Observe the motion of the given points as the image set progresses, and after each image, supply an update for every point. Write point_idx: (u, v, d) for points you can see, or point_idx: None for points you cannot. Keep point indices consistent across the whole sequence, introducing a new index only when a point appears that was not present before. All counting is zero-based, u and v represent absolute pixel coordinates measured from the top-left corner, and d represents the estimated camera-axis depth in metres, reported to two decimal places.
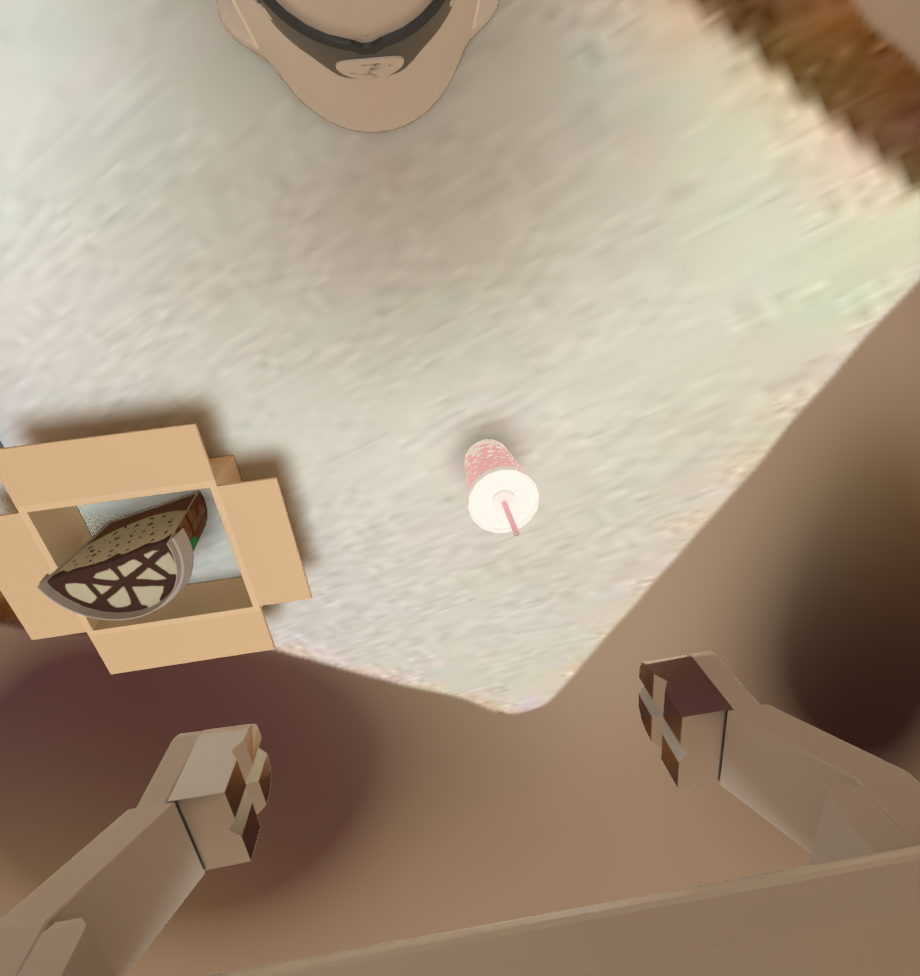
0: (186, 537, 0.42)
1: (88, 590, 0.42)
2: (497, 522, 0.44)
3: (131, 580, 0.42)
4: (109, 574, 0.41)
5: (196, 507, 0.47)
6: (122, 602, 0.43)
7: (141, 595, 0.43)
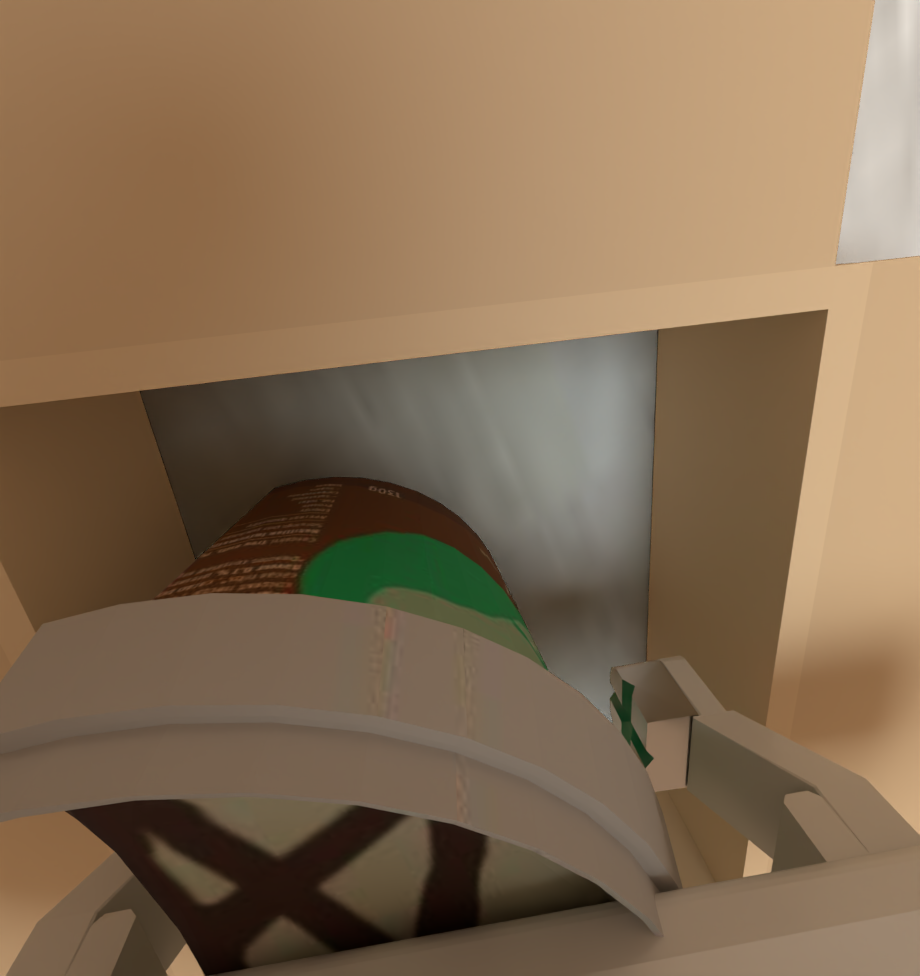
0: (105, 619, 0.05)
1: None
2: None
3: None
4: None
5: (275, 509, 0.11)
6: None
7: None
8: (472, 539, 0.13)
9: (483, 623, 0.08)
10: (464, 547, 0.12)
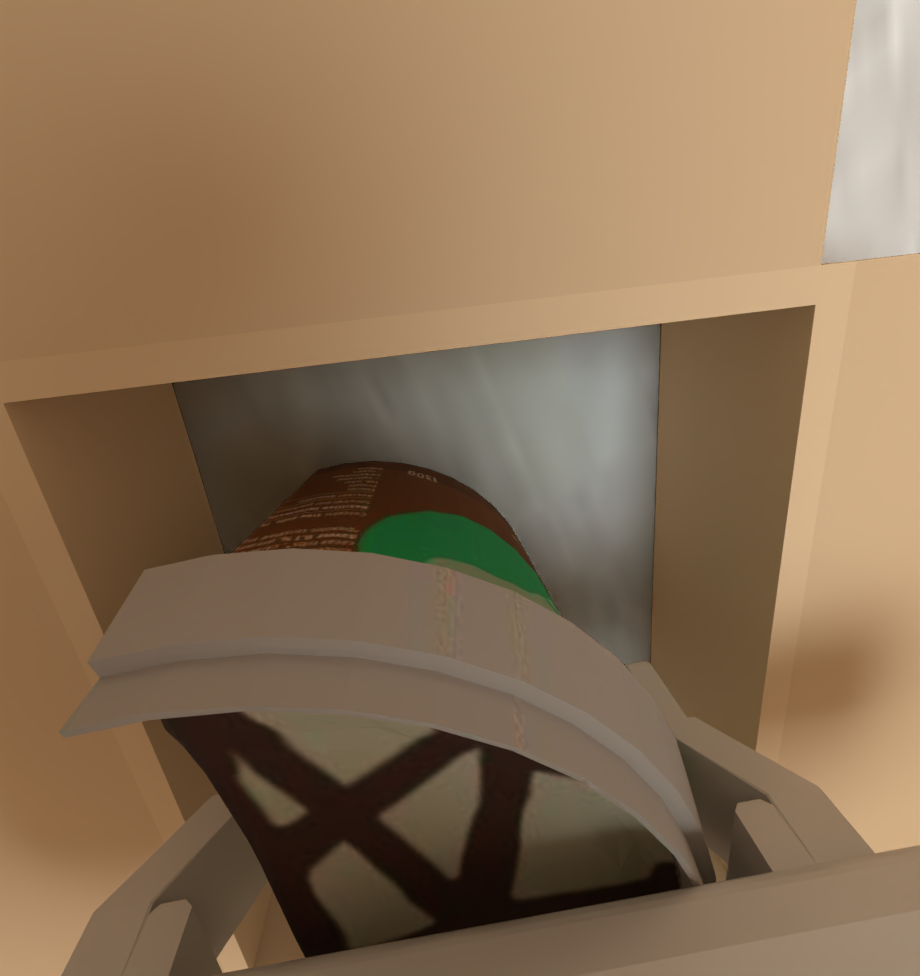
0: (201, 566, 0.06)
1: None
2: None
3: (467, 900, 0.07)
4: None
5: (322, 488, 0.12)
6: None
7: (581, 872, 0.07)
8: (504, 525, 0.14)
9: (522, 596, 0.09)
10: (498, 530, 0.12)
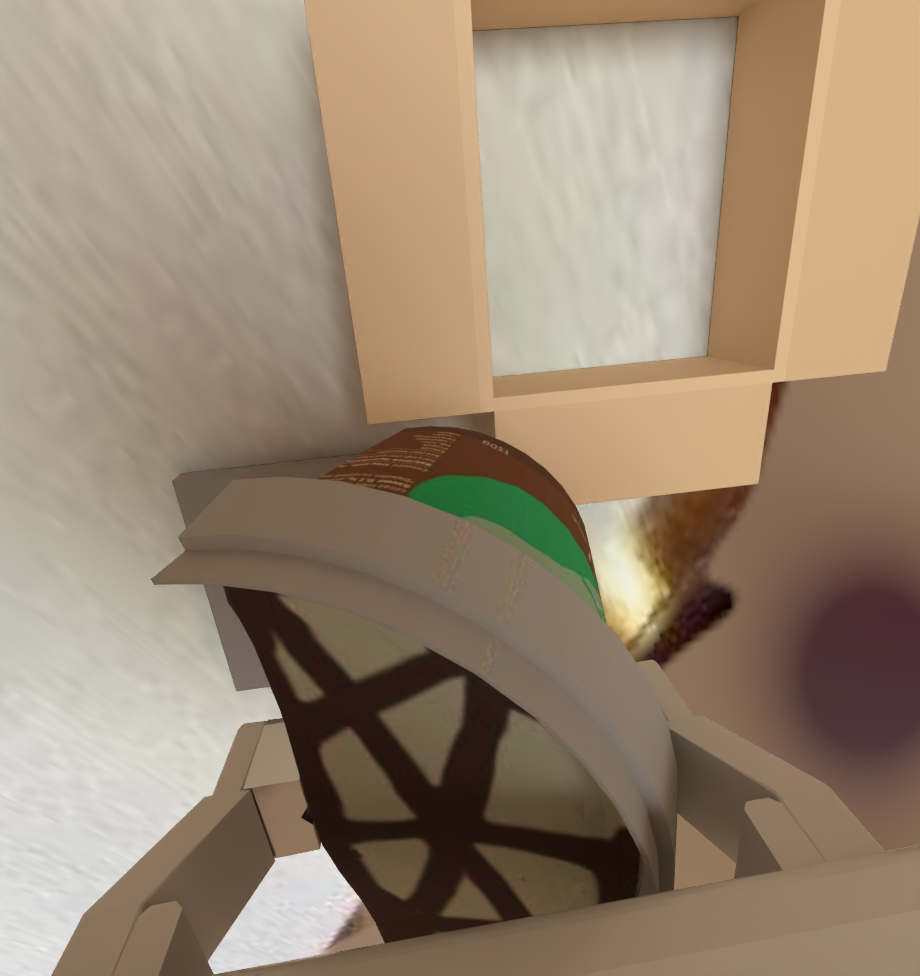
0: (271, 483, 0.08)
1: None
2: None
3: (445, 807, 0.08)
4: (385, 856, 0.09)
5: (401, 444, 0.13)
6: (568, 887, 0.08)
7: (548, 814, 0.08)
8: (567, 505, 0.14)
9: (550, 566, 0.10)
10: (555, 508, 0.13)
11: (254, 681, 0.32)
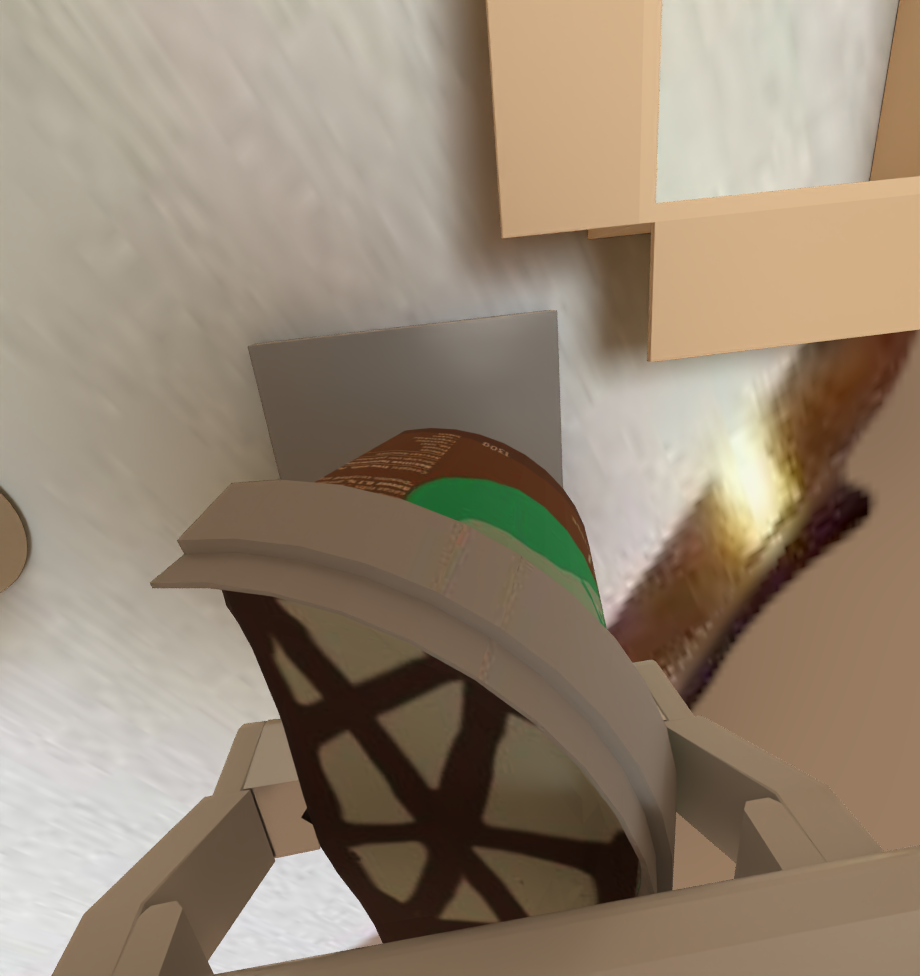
0: (270, 487, 0.08)
1: None
2: None
3: (443, 810, 0.08)
4: (383, 860, 0.09)
5: (401, 446, 0.13)
6: (567, 890, 0.08)
7: (546, 818, 0.08)
8: (567, 507, 0.14)
9: (549, 569, 0.10)
10: (555, 510, 0.13)
11: None
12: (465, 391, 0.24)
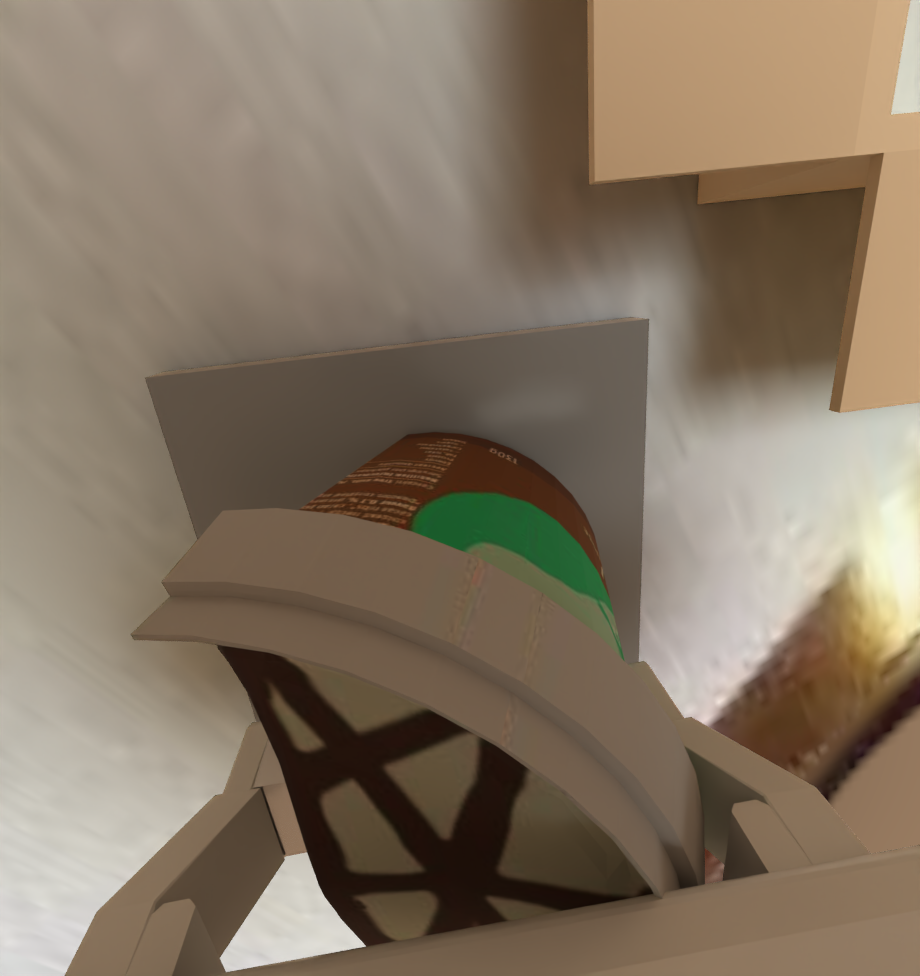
0: (264, 517, 0.07)
1: None
2: None
3: (456, 861, 0.08)
4: (390, 908, 0.08)
5: (404, 454, 0.13)
6: None
7: (567, 871, 0.07)
8: (578, 517, 0.14)
9: (566, 595, 0.09)
10: (567, 522, 0.12)
11: None
12: None
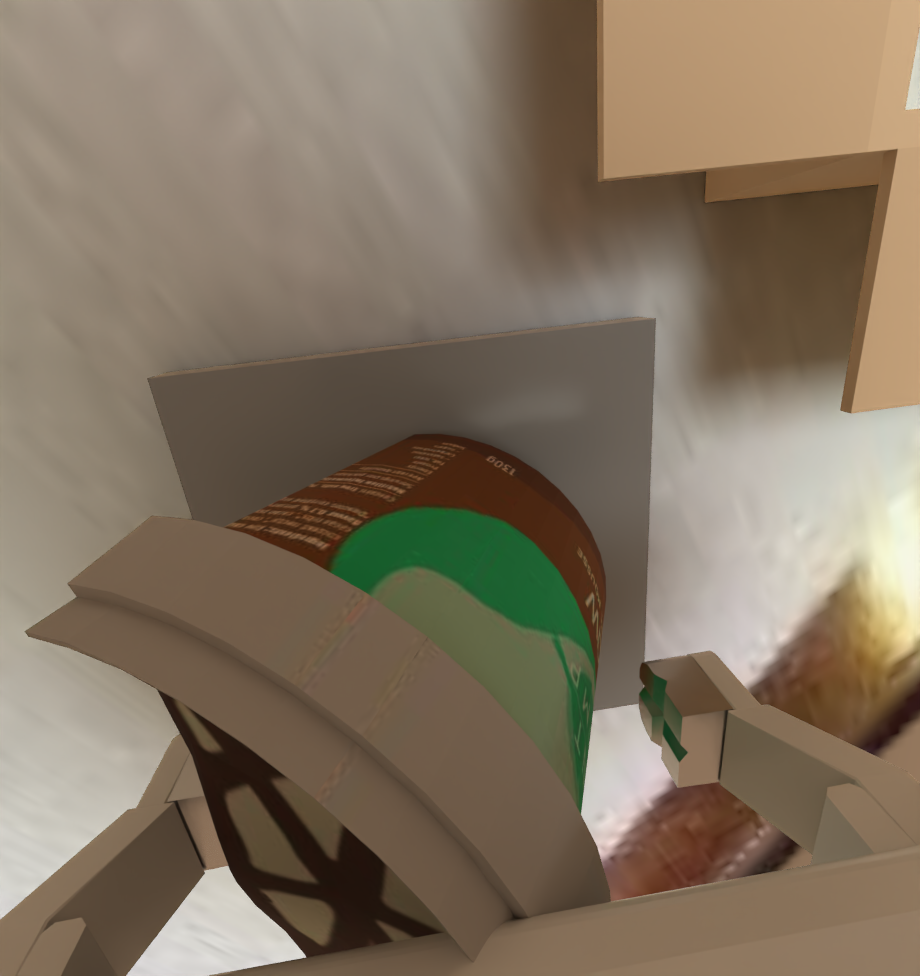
0: (177, 528, 0.07)
1: None
2: None
3: (344, 881, 0.08)
4: (293, 908, 0.08)
5: (394, 458, 0.13)
6: None
7: None
8: (574, 536, 0.13)
9: (501, 631, 0.08)
10: (550, 544, 0.12)
11: None
12: (503, 446, 0.15)
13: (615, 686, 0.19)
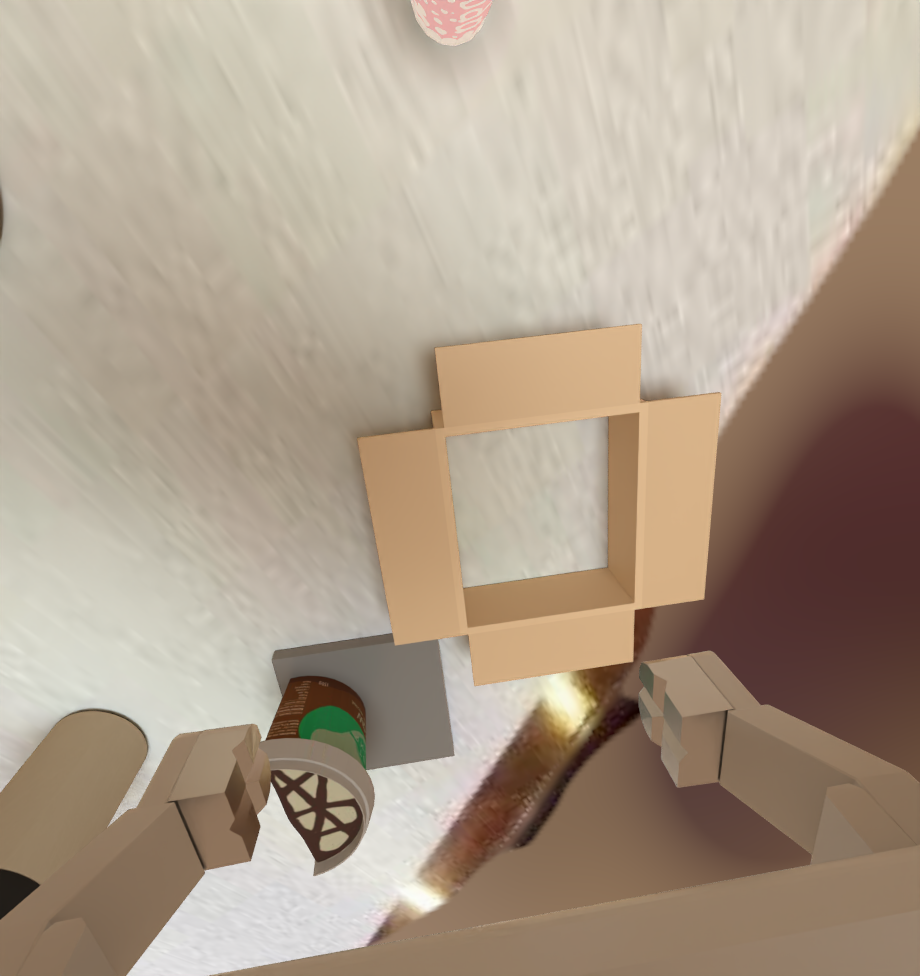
0: (269, 742, 0.35)
1: (330, 835, 0.38)
2: None
3: (317, 802, 0.37)
4: (305, 819, 0.37)
5: (291, 694, 0.41)
6: (349, 812, 0.37)
7: (340, 796, 0.37)
8: (350, 697, 0.43)
9: (337, 736, 0.39)
10: (344, 705, 0.42)
11: None
12: (389, 672, 0.44)
13: (441, 749, 0.48)
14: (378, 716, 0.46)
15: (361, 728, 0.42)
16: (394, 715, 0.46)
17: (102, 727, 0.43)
